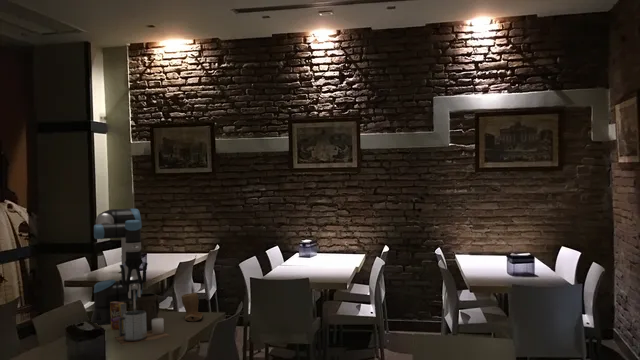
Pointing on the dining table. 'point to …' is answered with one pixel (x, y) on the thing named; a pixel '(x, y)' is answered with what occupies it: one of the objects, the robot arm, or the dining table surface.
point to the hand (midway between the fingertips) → (134, 297)
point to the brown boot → (191, 307)
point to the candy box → (117, 313)
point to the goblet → (134, 287)
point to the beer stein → (148, 307)
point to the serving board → (149, 337)
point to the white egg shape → (157, 326)
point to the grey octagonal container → (133, 326)
